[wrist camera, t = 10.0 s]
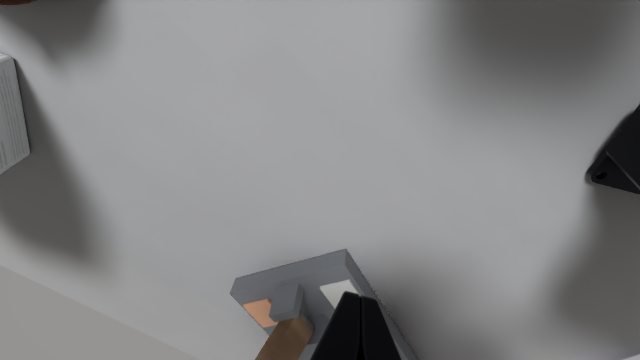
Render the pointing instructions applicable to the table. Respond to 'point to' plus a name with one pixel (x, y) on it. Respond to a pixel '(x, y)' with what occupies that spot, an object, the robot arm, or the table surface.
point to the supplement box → (11, 117)
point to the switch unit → (308, 295)
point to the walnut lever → (287, 339)
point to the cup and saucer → (14, 2)
